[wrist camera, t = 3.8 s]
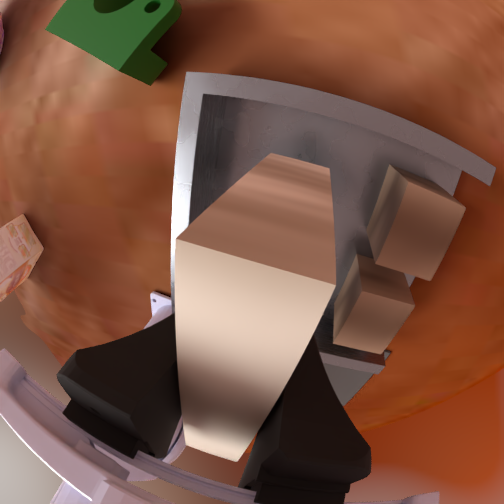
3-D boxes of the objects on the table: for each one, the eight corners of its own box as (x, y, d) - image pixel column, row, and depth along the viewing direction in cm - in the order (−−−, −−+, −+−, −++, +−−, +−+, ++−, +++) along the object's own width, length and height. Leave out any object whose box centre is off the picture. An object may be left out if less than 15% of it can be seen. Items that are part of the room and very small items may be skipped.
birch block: (272, 343, 16) (237, 461, 10) (234, 332, 17) (185, 444, 10) (329, 168, 11) (336, 285, 4) (270, 152, 11) (175, 238, 4)
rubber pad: (344, 403, 31) (344, 405, 30) (273, 388, 32) (272, 390, 32) (390, 351, 24) (390, 353, 24) (301, 329, 25) (301, 332, 25)
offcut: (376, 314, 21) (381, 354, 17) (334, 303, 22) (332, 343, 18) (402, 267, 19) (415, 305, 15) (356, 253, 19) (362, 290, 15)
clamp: (199, 38, 18) (206, 10, 11) (157, 87, 20) (140, 83, 13) (105, -12, 12) (74, -46, 5) (66, 36, 14) (18, 22, 7)
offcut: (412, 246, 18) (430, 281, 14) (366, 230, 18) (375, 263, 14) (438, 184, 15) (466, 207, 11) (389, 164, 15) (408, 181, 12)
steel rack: (374, 332, 24) (378, 374, 19) (195, 281, 26) (171, 316, 21) (461, 151, 14) (496, 167, 10) (219, 78, 16) (186, 71, 12)
